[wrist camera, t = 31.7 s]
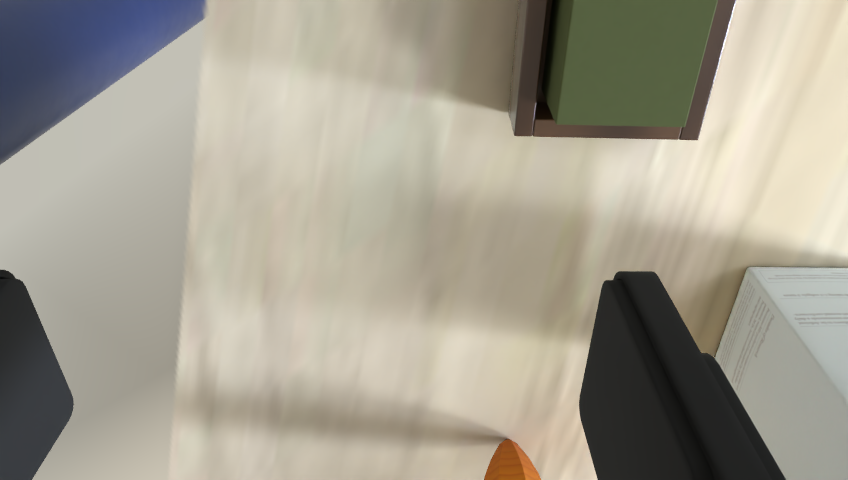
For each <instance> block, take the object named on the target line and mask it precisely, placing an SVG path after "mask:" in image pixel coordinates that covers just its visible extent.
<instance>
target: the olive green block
mask: <svg viewBox="0 0 848 480" xmlns="http://www.w3.org/2000/svg"><path fill="white" fill-rule="evenodd" d="M717 2H718V0H552V7H551V16H550V24H549V33H548V41H547V49H546V58H545V66H544V74H543V83H542V92H543V94H544V97H545V99H546V102H547V104H548V106H549V109H550V111H551V114H552V116H553V119H554V121H555V124H557V125H603V126H650V127H685V126H686V122H687V118H688V114H689V110H690V106H691V102H692V99H693V95H694V91H695V87H696V83H697V79H698V75H699V72H700V68H701V64H702V60H703V56H704V52H705V48H706V45H707V41H708V37H709V33H710V29H711V25H712V21H713V18H714V14H715V10H716V6H717Z"/></svg>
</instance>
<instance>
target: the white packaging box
mask: <svg viewBox="0 0 848 480" xmlns="http://www.w3.org/2000/svg"><path fill="white" fill-rule="evenodd" d="M715 360H716V361H717V362H718V364H719V365H720V367H721V368H722V370H723V372H724V374H725V375H726V377H727V379H728V381H729V382H730V384H731V386H732V387H733V389H734V391H735V393H736V394H737V396H738V398H739V399H740V401H741V403H742V405H743V406H744V408H745V410H746V411H747V413H748V415H749V417H750V418H751V420H752V422H753V423H754V425H755V427H756V429H757V430H758V432H759V434H760V435H761V437H762V439H763V441H764V442H765V444H766V446H767V448H768V449H769V451H770V453H771V454H772V456H773V458H774V460H775V461H776V463H777V465H778V466H779V468H780V470H781V472H782V473H783V475H784V477H785V478H786V480H848V268H802V267H748V268H747V271H746V273H745V276H744V278H743V281H742V284H741V286H740V289H739V292H738V295H737V298H736V300H735V303H734V305H733V308H732V311H731V314H730V317H729V320H728V322H727V325H726V328H725V331H724V334H723V336H722V339H721V342H720V345H719V348H718V350H717V353H716V357H715Z"/></svg>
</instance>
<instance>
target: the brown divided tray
mask: <svg viewBox="0 0 848 480" xmlns="http://www.w3.org/2000/svg"><path fill="white" fill-rule="evenodd" d="M735 3H736V0H718V2H717V6H716V10H715V14H714V18H713V21H712V25H711V29H710V33H709V37H708V41H707V45H706V48H705V52H704V56H703V60H702V64H701V68H700V72H699V75H698V79H697V83H696V87H695V91H694V95H693V99H692V102H691V106H690V110H689V114H688V118H687V122H686V126H685V127H650V126H603V125H557V124H555V121H554V119H553V116H552V114H551V111H550V109H549V106H548V104H547V102H546V99H545V97H544V94H543V92H542V83H543V74H544V66H545V58H546V49H547V41H548V33H549V24H550V16H551V7H552V0H519V6H518V17H517V28H516V39H515V49H514V60H513V71H512V82H511V93H510V104H509V117H510V120H511V124H512V128H513V132H514V136H532V135H533V136H537V137H583V138H629V139H675V140H678V139H680V140H698V138H699V134H700V131H701V127H702V123H703V120H704V116H705V112H706V109H707V105H708V101H709V98H710V94H711V90H712V87H713V83H714V80H715V76H716V72H717V69H718V65H719V61H720V58H721V54H722V50H723V47H724V43H725V39H726V36H727V32H728V28H729V25H730V21H731V18H732V14H733V10H734V7H735Z"/></svg>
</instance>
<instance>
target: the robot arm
mask: <svg viewBox="0 0 848 480" xmlns="http://www.w3.org/2000/svg"><path fill="white" fill-rule="evenodd" d="M579 409H580V417H581V421H582V425H583V429H584V432H585V436H586V439H587V443H588V446H589V450H590V453H591V457H592V461H593V464H594V468H595V471H596V475H597V478H598V480H786V478H785V477H784V475H783V473H782V472H781V470H780V468H779V466H778V465H777V463H776V461H775V460H774V458H773V456H772V454H771V453H770V451H769V449H768V448H767V446H766V444H765V442H764V441H763V439H762V437H761V435H760V434H759V432H758V430H757V429H756V427H755V425H754V423H753V422H752V420H751V418H750V417H749V415H748V413H747V411H746V410H745V408H744V406H743V405H742V403H741V401H740V399H739V398H738V396H737V394H736V393H735V391H734V389H733V387H732V386H731V384H730V382H729V381H728V379H727V377H726V375H725V374H724V372H723V370H722V368H721V367H720V365H719V364H718V362H717V361H716V360H715V358H714V357H713V356H711V355H709V354H708V353H701V352H700V350H699V349H698V347H697V345H696V343H695V341H694V340H693V338H692V336H691V334H690V332H689V331H688V329H687V327H686V325H685V323H684V322H683V320H682V318H681V316H680V315H679V313H678V311H677V309H676V307H675V306H674V304H673V302H672V300H671V298H670V297H669V295H668V293H667V291H666V290H665V288H664V286H663V284H662V282H661V281H660V279H659V277H658V276H657V274H656V273H655V272H628V271H619V272H617V273H616V275H615V276H614V279H613V280H606V281H604V283H603V285H602V289H601V294H600V299H599V304H598V309H597V314H596V319H595V324H594V329H593V334H592V339H591V344H590V349H589V354H588V359H587V363H586V368H585V373H584V378H583V383H582V388H581V393H580V400H579ZM72 411H73V397H72V394H71V391H70V389H69V387H68V385H67V382H66V380H65V377H64V375H63V373H62V370H61V368H60V366H59V364H58V361H57V359H56V357H55V354H54V352H53V349H52V347H51V345H50V342H49V340H48V338H47V335H46V333H45V331H44V328H43V326H42V324H41V321H40V319H39V317H38V314H37V312H36V310H35V307H34V305H33V303H32V300H31V298H30V296H29V293H28V291H27V289H26V286H25V285H24V283H23V282H22V281H20V280H18V279H15V277H14V276H13V274H11V273H10V272H9V271H6V270H0V480H32V479H33V477H34V475H35V474H36V472H37V470H38V469H39V467H40V466H41V464H42V462H43V461H44V459H45V458H46V456H47V454H48V453H49V451H50V450H51V448H52V446H53V445H54V443H55V441H56V440H57V438H58V437H59V435H60V434H61V432H62V430H63V429H64V427H65V426H66V424H67V422H68V421H69V419H70V417H71V414H72Z"/></svg>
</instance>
